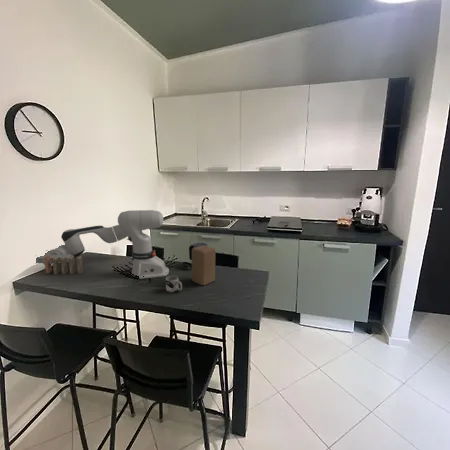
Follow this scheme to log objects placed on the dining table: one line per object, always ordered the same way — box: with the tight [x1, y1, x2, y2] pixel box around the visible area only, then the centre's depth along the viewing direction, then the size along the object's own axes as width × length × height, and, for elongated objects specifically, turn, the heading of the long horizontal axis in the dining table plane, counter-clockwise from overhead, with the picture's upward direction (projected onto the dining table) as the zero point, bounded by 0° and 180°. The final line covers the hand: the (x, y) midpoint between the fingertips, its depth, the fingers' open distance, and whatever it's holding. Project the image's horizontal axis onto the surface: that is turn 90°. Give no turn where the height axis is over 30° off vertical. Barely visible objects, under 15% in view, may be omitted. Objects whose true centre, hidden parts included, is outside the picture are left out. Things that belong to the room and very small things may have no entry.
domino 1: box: [44, 255, 53, 274], centre depth 167 cm, size 2×4×10 cm, turn 8°
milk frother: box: [181, 242, 208, 271], centre depth 182 cm, size 14×16×15 cm
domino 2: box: [52, 257, 61, 276], centre depth 168 cm, size 2×4×10 cm, turn 8°
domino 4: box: [68, 256, 76, 275], centre depth 169 cm, size 2×4×10 cm, turn 8°
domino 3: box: [60, 256, 69, 275], centre depth 169 cm, size 2×4×10 cm, turn 8°
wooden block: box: [191, 245, 216, 286], centre depth 159 cm, size 10×10×20 cm
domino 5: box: [76, 255, 84, 275], centre depth 170 cm, size 2×4×10 cm, turn 8°
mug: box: [165, 275, 183, 293], centre depth 149 cm, size 10×7×7 cm
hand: (47, 263), depth 166 cm, fingers closed on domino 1, 2 cm apart
